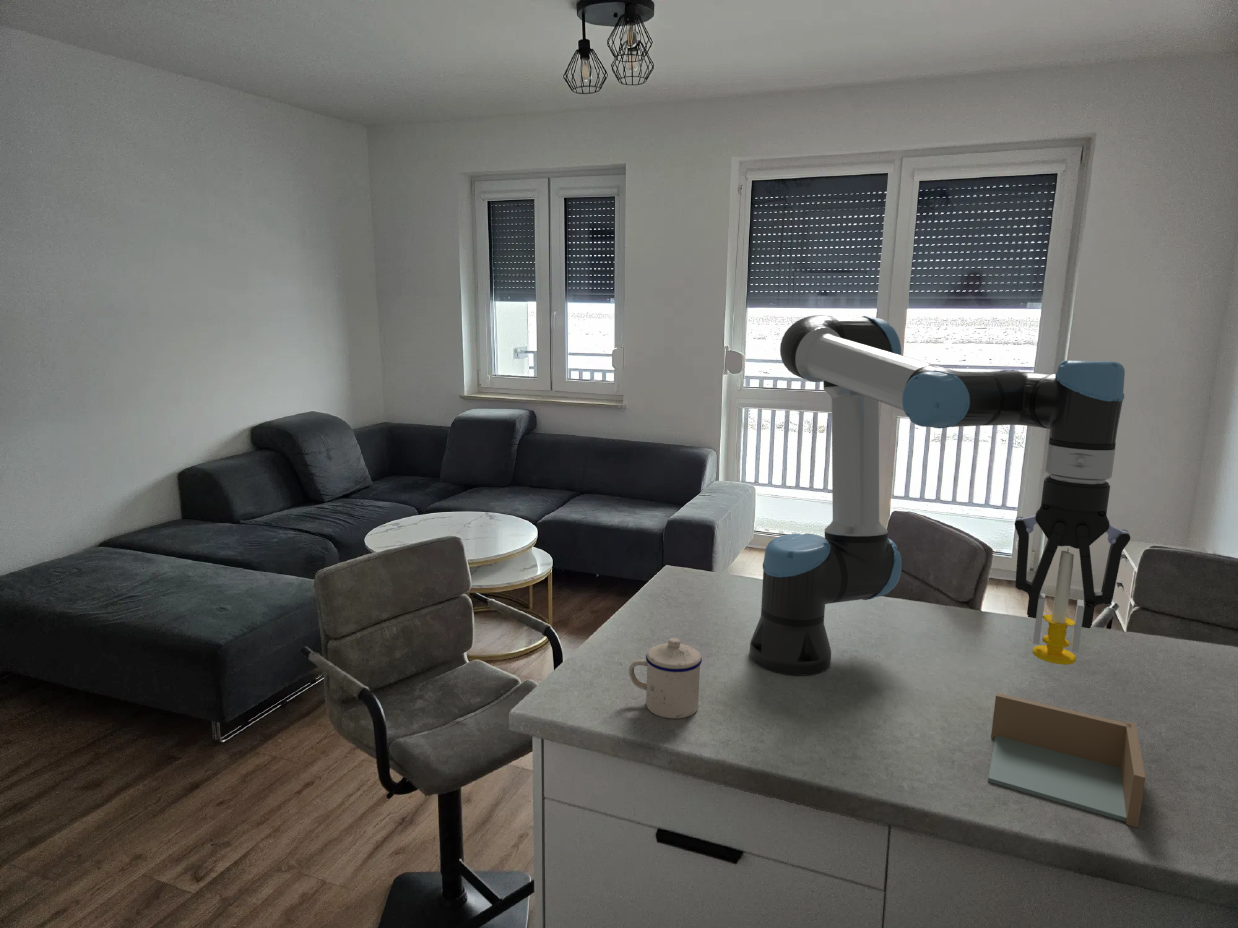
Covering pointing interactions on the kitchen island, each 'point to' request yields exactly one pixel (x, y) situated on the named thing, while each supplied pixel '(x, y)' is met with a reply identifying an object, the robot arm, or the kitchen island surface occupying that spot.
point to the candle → (1059, 618)
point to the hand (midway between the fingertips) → (1055, 643)
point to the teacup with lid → (670, 679)
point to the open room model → (1068, 757)
